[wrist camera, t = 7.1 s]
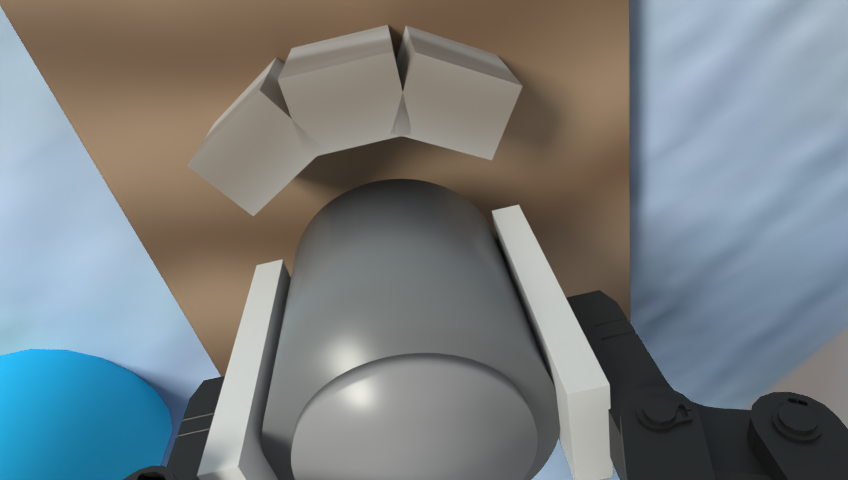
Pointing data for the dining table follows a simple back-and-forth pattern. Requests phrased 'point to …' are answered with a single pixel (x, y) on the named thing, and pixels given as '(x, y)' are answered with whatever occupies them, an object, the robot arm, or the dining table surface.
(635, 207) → the dining table surface
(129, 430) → the mug
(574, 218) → the board
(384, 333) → the cap
